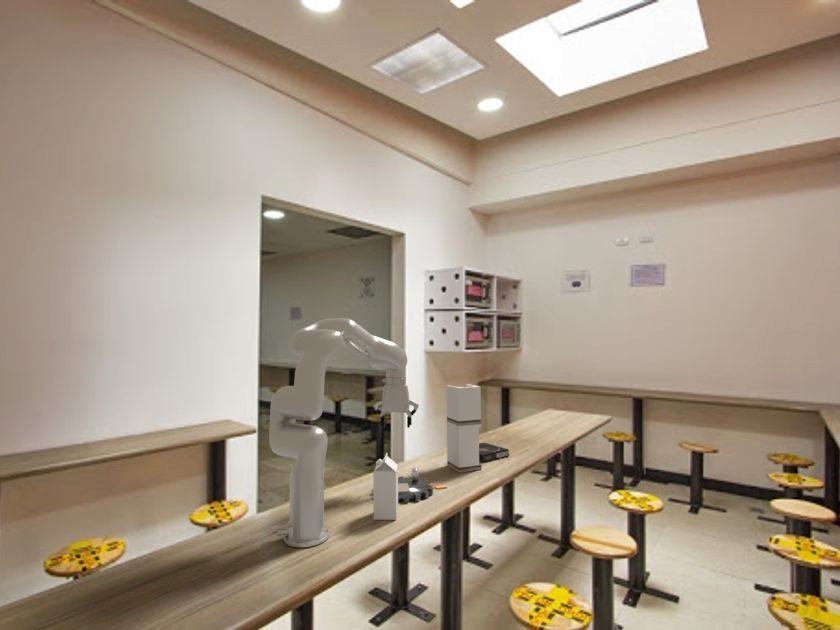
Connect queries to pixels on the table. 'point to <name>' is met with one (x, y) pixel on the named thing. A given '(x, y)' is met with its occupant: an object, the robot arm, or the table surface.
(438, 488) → the block
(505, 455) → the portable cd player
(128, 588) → the table surface
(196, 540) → the table surface
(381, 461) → the milk carton
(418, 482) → the sprocket
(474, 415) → the banded white pillar
